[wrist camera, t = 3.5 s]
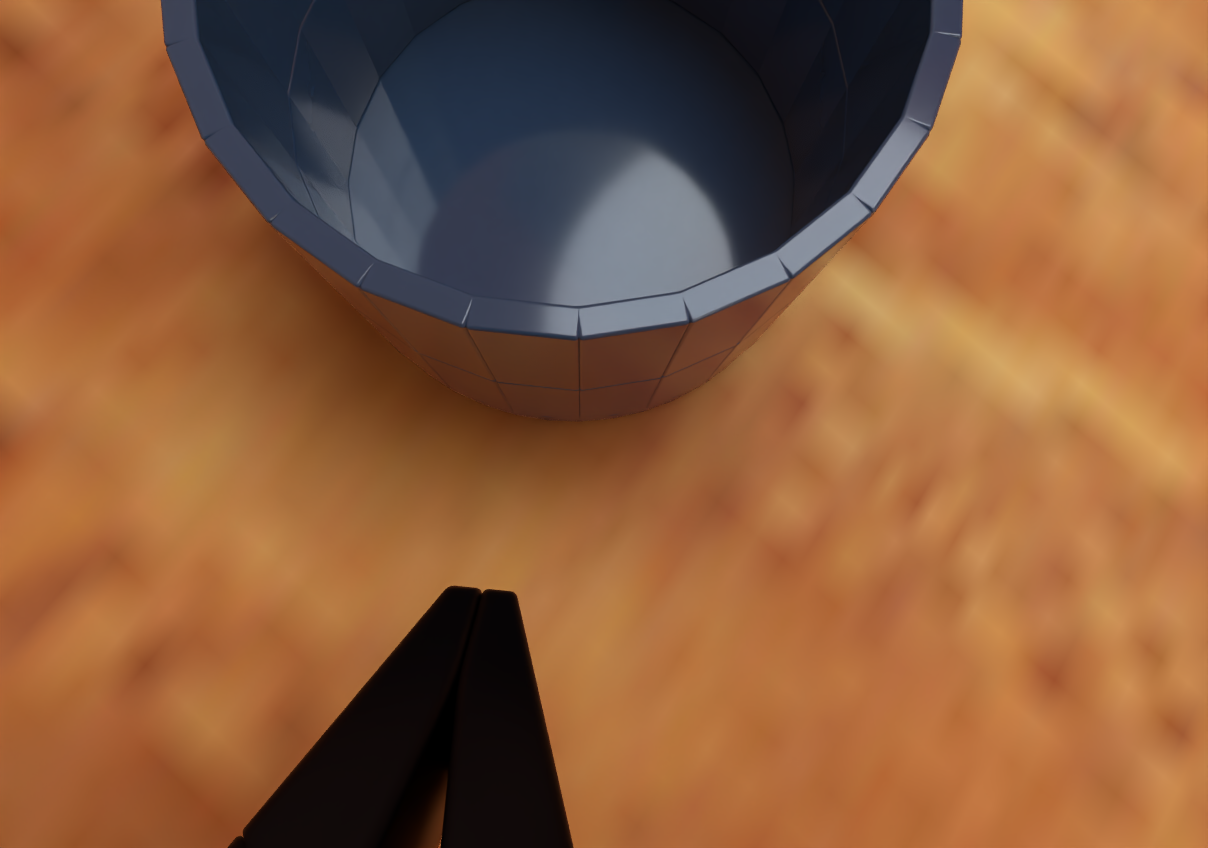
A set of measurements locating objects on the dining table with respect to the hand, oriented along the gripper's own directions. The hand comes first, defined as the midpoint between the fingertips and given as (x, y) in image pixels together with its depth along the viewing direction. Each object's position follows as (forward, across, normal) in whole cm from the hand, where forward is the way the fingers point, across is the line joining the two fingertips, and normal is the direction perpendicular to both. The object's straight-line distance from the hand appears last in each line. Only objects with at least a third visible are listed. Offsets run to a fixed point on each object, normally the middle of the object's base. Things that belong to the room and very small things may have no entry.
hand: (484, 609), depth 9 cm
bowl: (+13, 0, -1) cm, 13 cm away
